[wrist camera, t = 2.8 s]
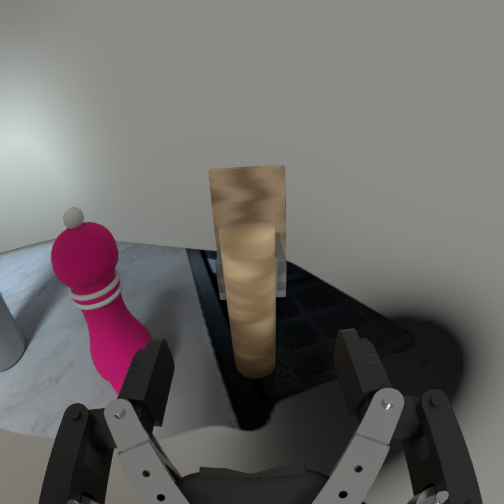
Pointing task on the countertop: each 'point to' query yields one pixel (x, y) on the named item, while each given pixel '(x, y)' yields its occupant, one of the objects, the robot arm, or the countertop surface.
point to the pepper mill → (98, 294)
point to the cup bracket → (251, 209)
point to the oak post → (250, 293)
